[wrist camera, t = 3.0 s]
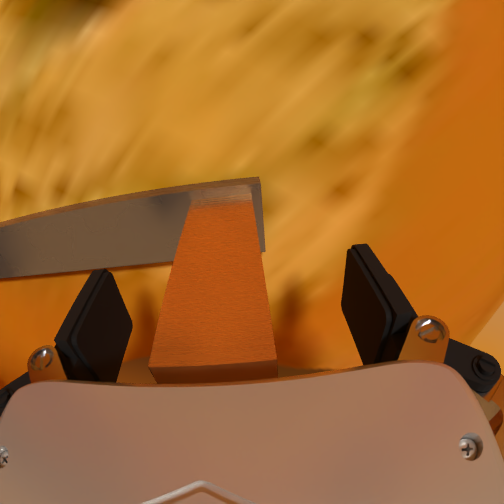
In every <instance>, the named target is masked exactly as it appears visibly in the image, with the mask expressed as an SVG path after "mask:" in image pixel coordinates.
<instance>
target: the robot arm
mask: <svg viewBox="0 0 504 504" xmlns="http://www.w3.org/2000/svg"><path fill="white" fill-rule="evenodd" d="M341 307H342V311H343V314H344V316H345V319H346V321H347V324H348V326H349V329H350V331H351V334H352V336H353V339H354V341H355V344H356V347H357V349H358V352H359V355H360V357H361V360H362V363H363V366H358V367H352V368H346V369H340V370H333V371H326V372H320V373H313V374H306V375H299V376H291V377H282V378H272V379H262V380H250V381H237V382H221V383H197V384H136V383H135V384H134V383H116V381H117V377H118V374H119V370H120V367H121V364H122V360H123V357H124V354H125V350H126V347H127V344H128V341H129V338H130V334H131V331H132V327H133V325H132V320H131V318H130V315H129V313H128V311H127V309H126V306H125V304H124V302H123V299H122V297H121V294H120V292H119V289H118V287H117V284H116V282H115V279H114V277H113V275H112V273H111V272H108V270H106V269H101V270H93V271H92V273H91V275H90V276H89V278H88V279H87V281H86V283H85V284H84V286H83V288H82V290H81V291H80V293H79V295H78V296H77V298H76V300H75V302H74V303H73V305H72V307H71V309H70V311H69V312H68V314H67V316H66V318H65V320H64V322H63V324H62V326H61V327H60V329H59V331H58V333H57V335H56V337H55V339H54V341H55V342H56V345H55V347H53V346H50V345H45V346H42V347H39V348H38V349H36V350H35V351H34V352H33V353H32V354H31V356H30V357H29V359H28V363H27V367H28V372H26V373H25V374H23V375H22V376H20V377H19V378H17V379H16V380H14V381H13V382H11V383H10V384H8V385H7V386H5V387H4V388H2V389H1V390H0V504H504V376H503V375H502V374H501V368H500V365H499V363H498V362H497V360H496V359H495V358H494V357H493V356H491V355H489V354H487V353H485V352H482V351H480V350H477V349H475V348H472V347H470V346H467V345H465V344H462V343H460V342H458V341H455V340H453V339H450V338H449V329H448V327H447V325H446V324H445V323H444V322H443V321H442V320H440V319H439V318H436V317H434V316H429V315H423V316H420V317H418V316H417V314H416V312H415V311H414V309H413V308H412V306H411V304H410V303H409V301H408V300H407V298H406V297H405V295H404V294H403V292H402V290H401V289H400V287H399V286H398V284H397V283H396V281H395V280H394V278H393V277H392V276H391V275H390V274H388V273H387V272H386V270H385V269H384V267H383V266H382V264H381V263H380V261H379V260H378V259H377V257H376V256H375V254H374V253H373V251H372V250H371V249H370V247H369V246H368V245H367V244H357V245H352V247H351V249H348V250H347V257H346V267H345V276H344V285H343V293H342V301H341Z"/></svg>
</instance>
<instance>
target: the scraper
mask: <svg viewBox="0 0 504 504" xmlns="http://www.w3.org/2000/svg"><path fill="white" fill-rule="evenodd" d="M261 252H265V238H264V224H263V210H262V197H261V183H260V179H259V177H250V178H240V179H231V180H222V181H213V182H205V183H197V184H189V185H182V186H175V187H168V188H161V189H155V190H149V191H142V192H136V193H131V194H125V195H119V196H114V197H108V198H103V199H98V200H93V201H88V202H83V203H78V204H73V205H69V206H64V207H60V208H55V209H51V210H47V211H43V212H38V213H34V214H30V215H26V216H22V217H19V218H15V219H11V220H7V221H4V222H0V278H9V277H19V276H29V275H39V274H49V273H59V272H69V271H79V270H89V269H99V268H109V267H119V266H129V265H139V264H149V263H159V262H169V261H174V262H173V265H172V269H171V273H170V276H169V280H168V284H167V288H166V291H165V295H164V299H163V303H162V307H161V311H160V316H159V320H158V324H157V328H156V332H155V337H154V341H153V346H152V350H151V355H150V360H149V364H148V368H149V369H150V371H151V373H152V375H153V377H154V378H155V380H156V382H157V384H197V383H221V382H237V381H250V380H262V379H272V378H278V372H277V355H276V349H275V342H274V335H273V329H272V322H271V316H270V309H269V303H268V296H267V290H266V283H265V277H264V271H263V264H262V258H261Z"/></svg>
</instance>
